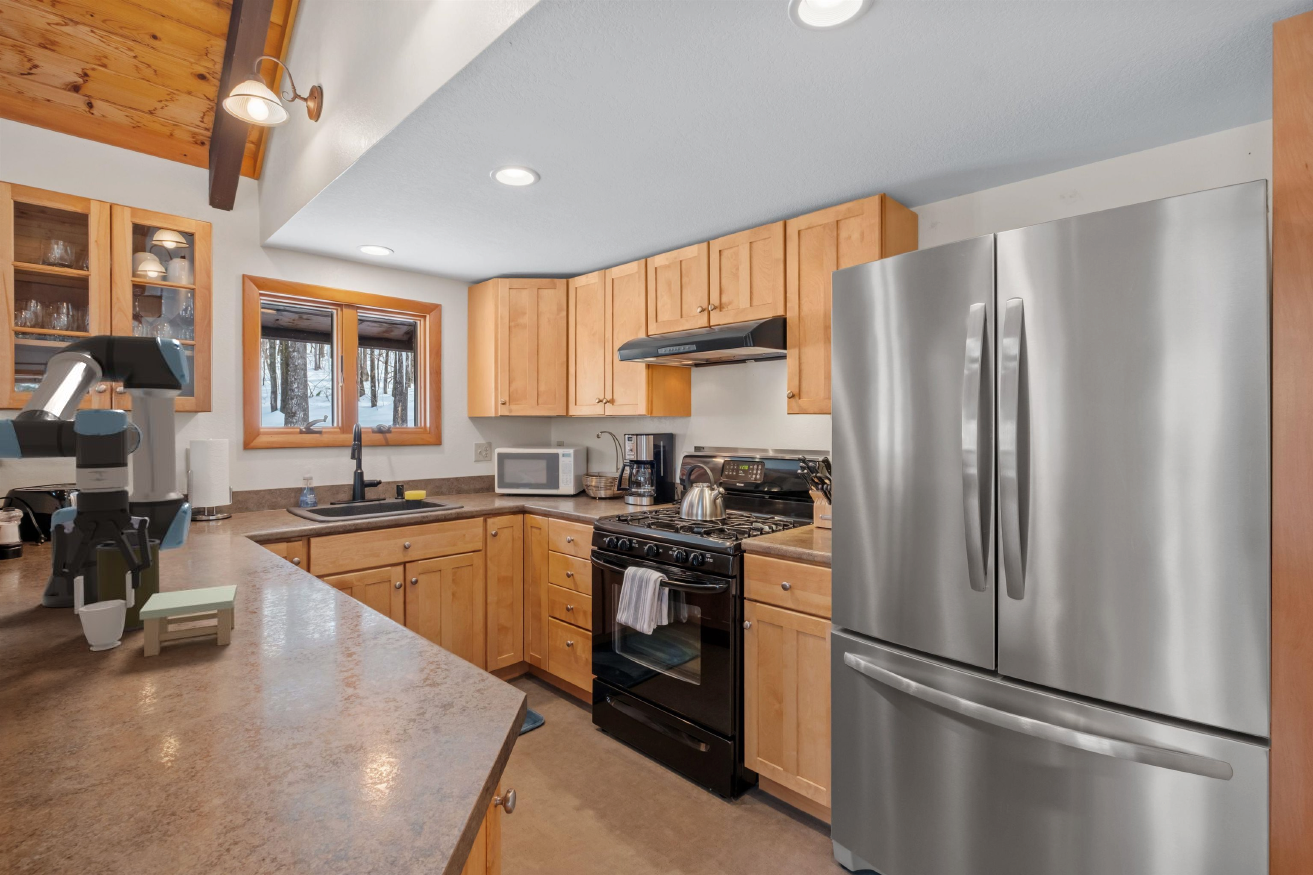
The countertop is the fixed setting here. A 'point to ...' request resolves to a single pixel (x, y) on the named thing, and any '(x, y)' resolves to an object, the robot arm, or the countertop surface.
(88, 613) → the cup
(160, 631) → the stool
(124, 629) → the canister
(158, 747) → the countertop surface
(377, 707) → the countertop surface
